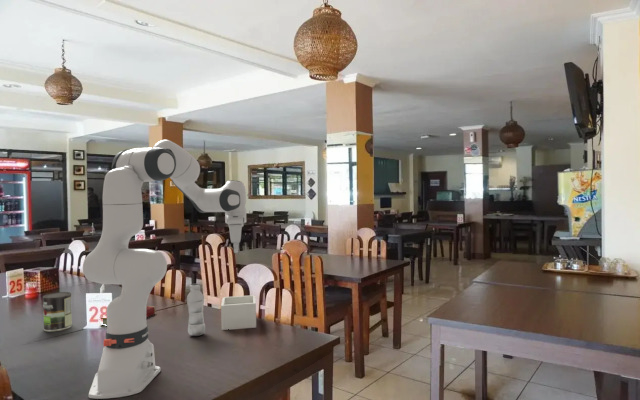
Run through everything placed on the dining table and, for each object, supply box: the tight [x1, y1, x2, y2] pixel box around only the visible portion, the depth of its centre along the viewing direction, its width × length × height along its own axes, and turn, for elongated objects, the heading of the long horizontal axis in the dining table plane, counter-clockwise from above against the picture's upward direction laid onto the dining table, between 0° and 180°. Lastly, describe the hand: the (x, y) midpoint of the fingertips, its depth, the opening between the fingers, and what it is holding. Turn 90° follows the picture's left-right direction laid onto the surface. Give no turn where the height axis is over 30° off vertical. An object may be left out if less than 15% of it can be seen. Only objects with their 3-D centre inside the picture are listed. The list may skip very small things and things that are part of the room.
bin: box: [220, 294, 257, 331], centre depth 175 cm, size 14×14×10 cm
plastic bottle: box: [186, 283, 206, 337], centre depth 162 cm, size 6×7×20 cm
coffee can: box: [42, 291, 73, 333], centre depth 175 cm, size 10×10×14 cm
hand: (236, 251), depth 175 cm, fingers open, 8 cm apart
